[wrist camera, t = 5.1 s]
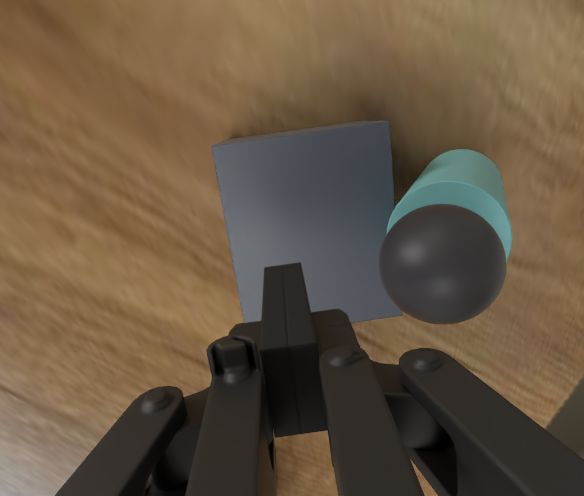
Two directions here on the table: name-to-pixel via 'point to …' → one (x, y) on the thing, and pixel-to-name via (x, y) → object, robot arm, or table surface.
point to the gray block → (311, 213)
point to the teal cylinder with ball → (448, 240)
